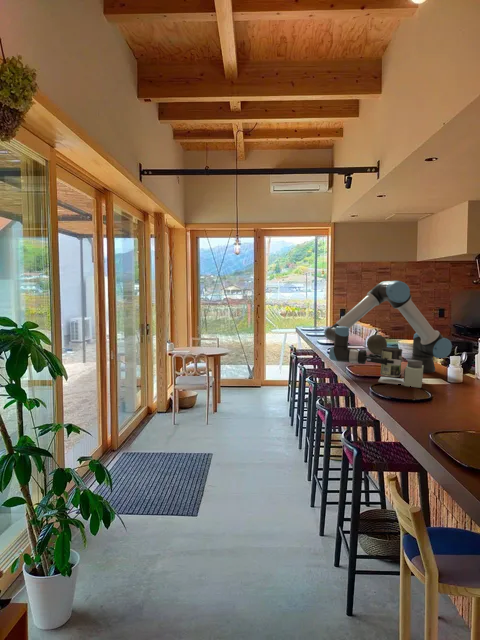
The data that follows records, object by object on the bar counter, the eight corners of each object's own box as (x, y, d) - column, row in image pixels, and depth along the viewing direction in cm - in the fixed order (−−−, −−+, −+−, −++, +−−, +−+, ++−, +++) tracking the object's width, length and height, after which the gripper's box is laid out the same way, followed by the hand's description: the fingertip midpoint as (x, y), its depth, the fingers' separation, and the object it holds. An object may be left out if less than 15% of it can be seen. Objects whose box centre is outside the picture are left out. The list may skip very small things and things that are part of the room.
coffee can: (400, 374, 240) (402, 348, 239) (400, 378, 231) (402, 351, 230) (380, 372, 244) (382, 346, 243) (379, 375, 235) (381, 349, 233)
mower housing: (377, 382, 233) (379, 359, 232) (381, 377, 247) (382, 355, 246) (421, 387, 224) (422, 364, 223) (422, 381, 239) (423, 359, 238)
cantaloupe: (386, 354, 330) (387, 334, 329) (386, 357, 317) (387, 336, 316) (366, 353, 335) (367, 333, 333) (365, 355, 321) (367, 335, 320)
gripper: (361, 360, 254) (402, 365, 245) (354, 366, 234) (399, 371, 225) (362, 347, 254) (403, 351, 245) (355, 352, 233) (400, 357, 224)
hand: (401, 361), depth 235 cm, fingers closed on coffee can, 10 cm apart
